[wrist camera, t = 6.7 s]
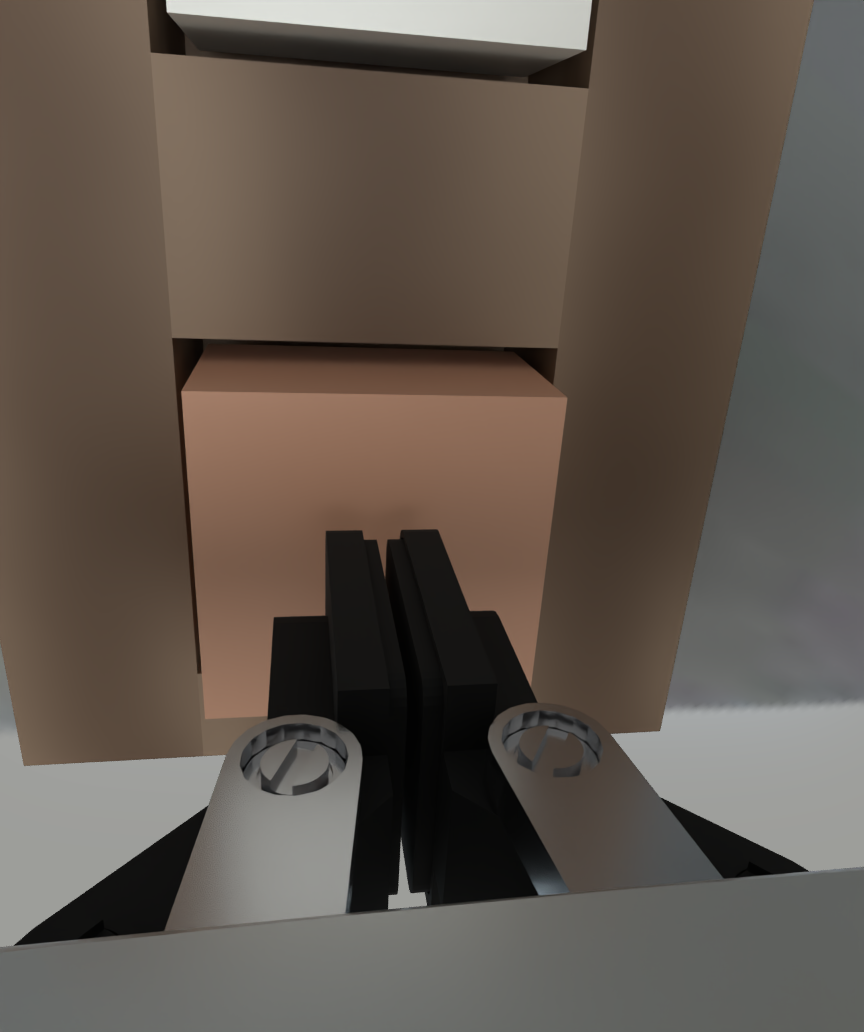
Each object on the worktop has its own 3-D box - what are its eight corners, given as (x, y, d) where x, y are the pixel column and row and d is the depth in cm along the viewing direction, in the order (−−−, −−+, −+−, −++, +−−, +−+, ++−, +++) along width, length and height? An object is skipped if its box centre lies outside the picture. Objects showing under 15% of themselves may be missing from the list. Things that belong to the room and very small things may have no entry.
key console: (752, -422, 14) (961, -700, 10) (589, 620, 23) (660, 730, 18) (-86, -587, 12) (-321, -1044, 8) (85, 636, 21) (24, 765, 16)
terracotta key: (513, 351, 16) (567, 397, 13) (488, 608, 18) (529, 703, 15) (208, 343, 15) (181, 391, 12) (223, 616, 17) (205, 719, 14)
